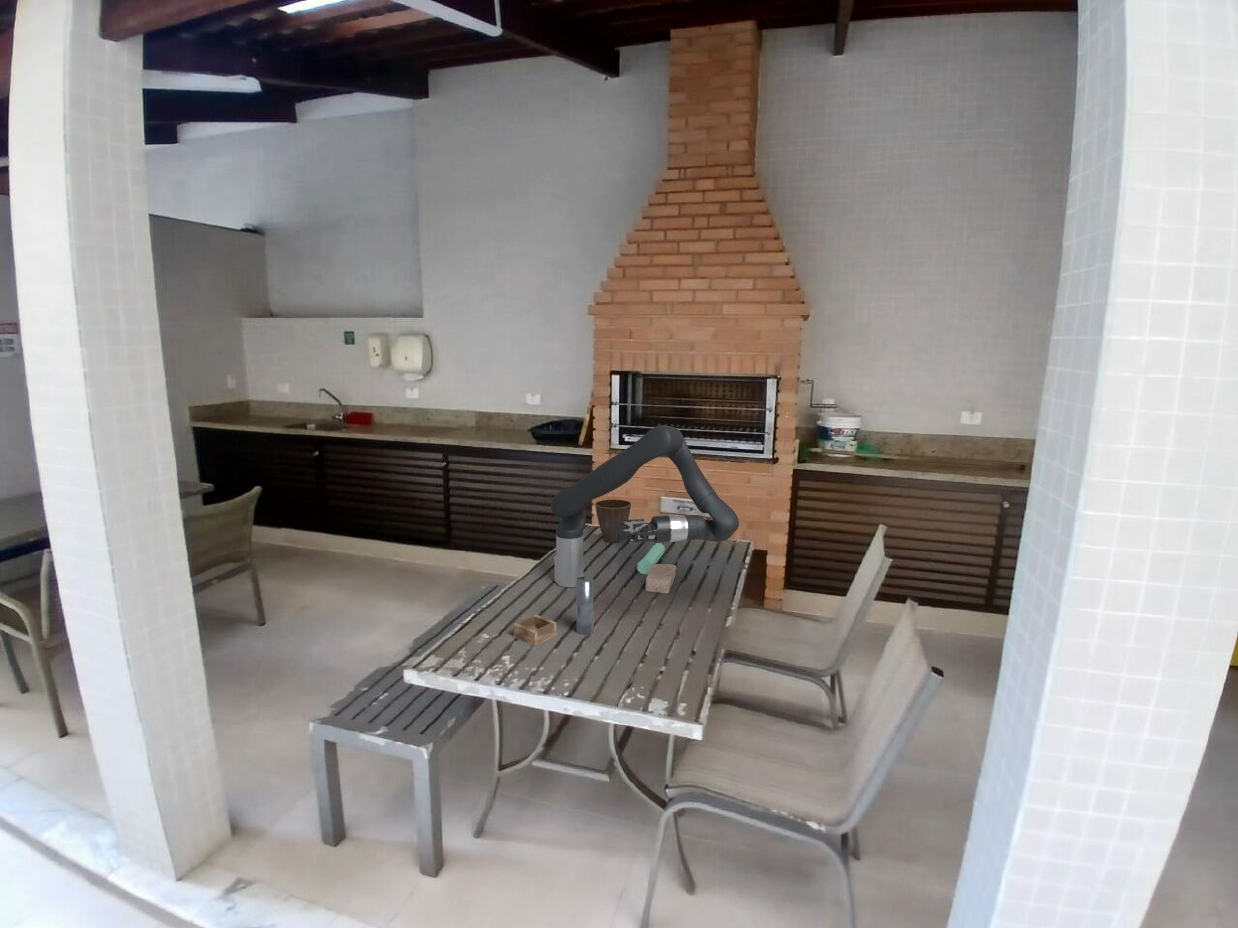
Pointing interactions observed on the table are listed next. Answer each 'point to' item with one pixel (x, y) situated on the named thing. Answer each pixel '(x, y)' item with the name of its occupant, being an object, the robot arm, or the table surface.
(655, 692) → the table surface
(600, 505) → the plant pot
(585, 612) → the rod
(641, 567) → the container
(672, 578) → the brick
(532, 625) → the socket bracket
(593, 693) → the table surface
